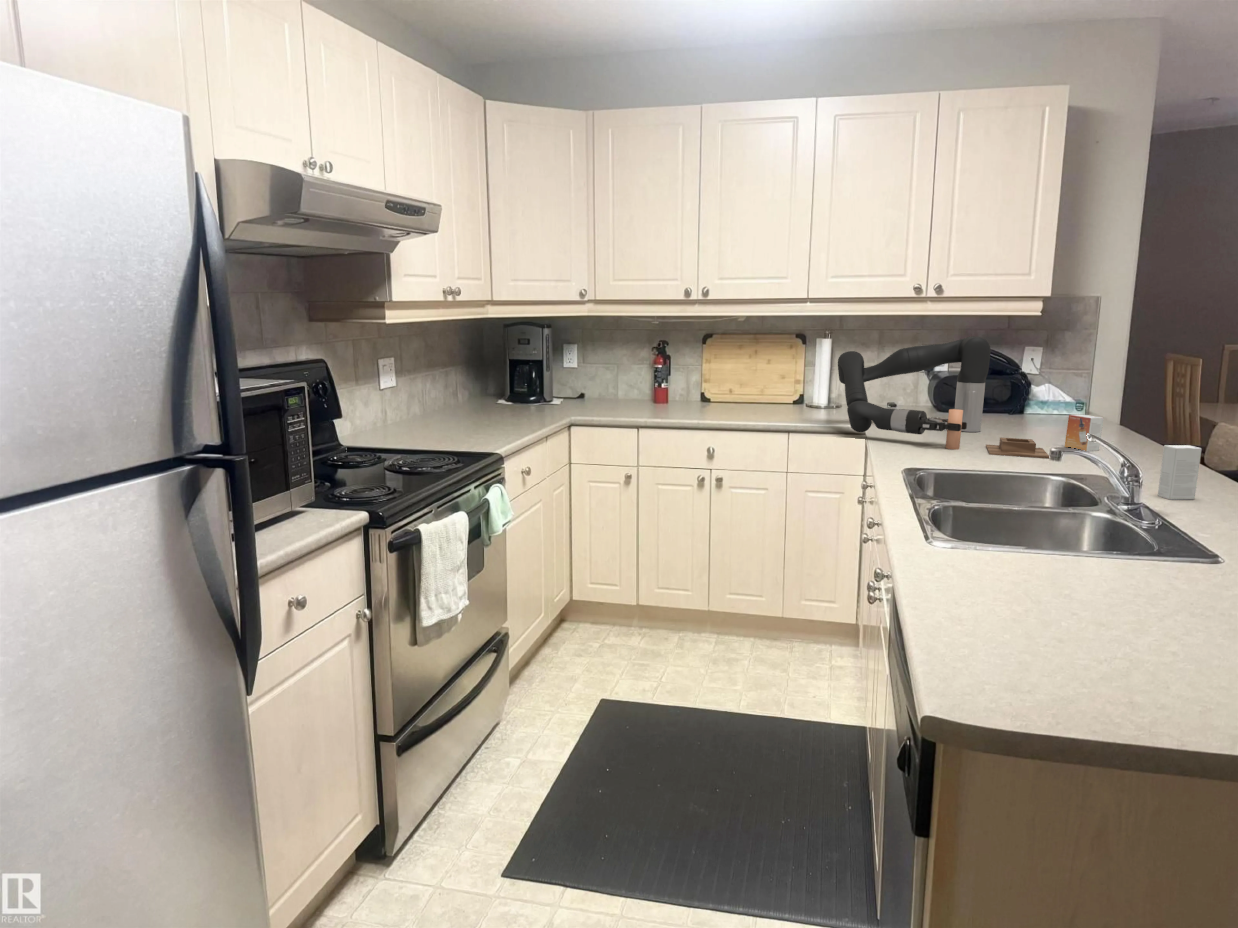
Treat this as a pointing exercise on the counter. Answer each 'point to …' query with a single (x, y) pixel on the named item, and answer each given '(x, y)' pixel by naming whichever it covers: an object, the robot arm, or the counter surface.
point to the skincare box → (1179, 472)
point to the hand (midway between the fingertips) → (963, 426)
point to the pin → (954, 436)
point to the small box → (1083, 431)
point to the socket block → (1017, 448)
